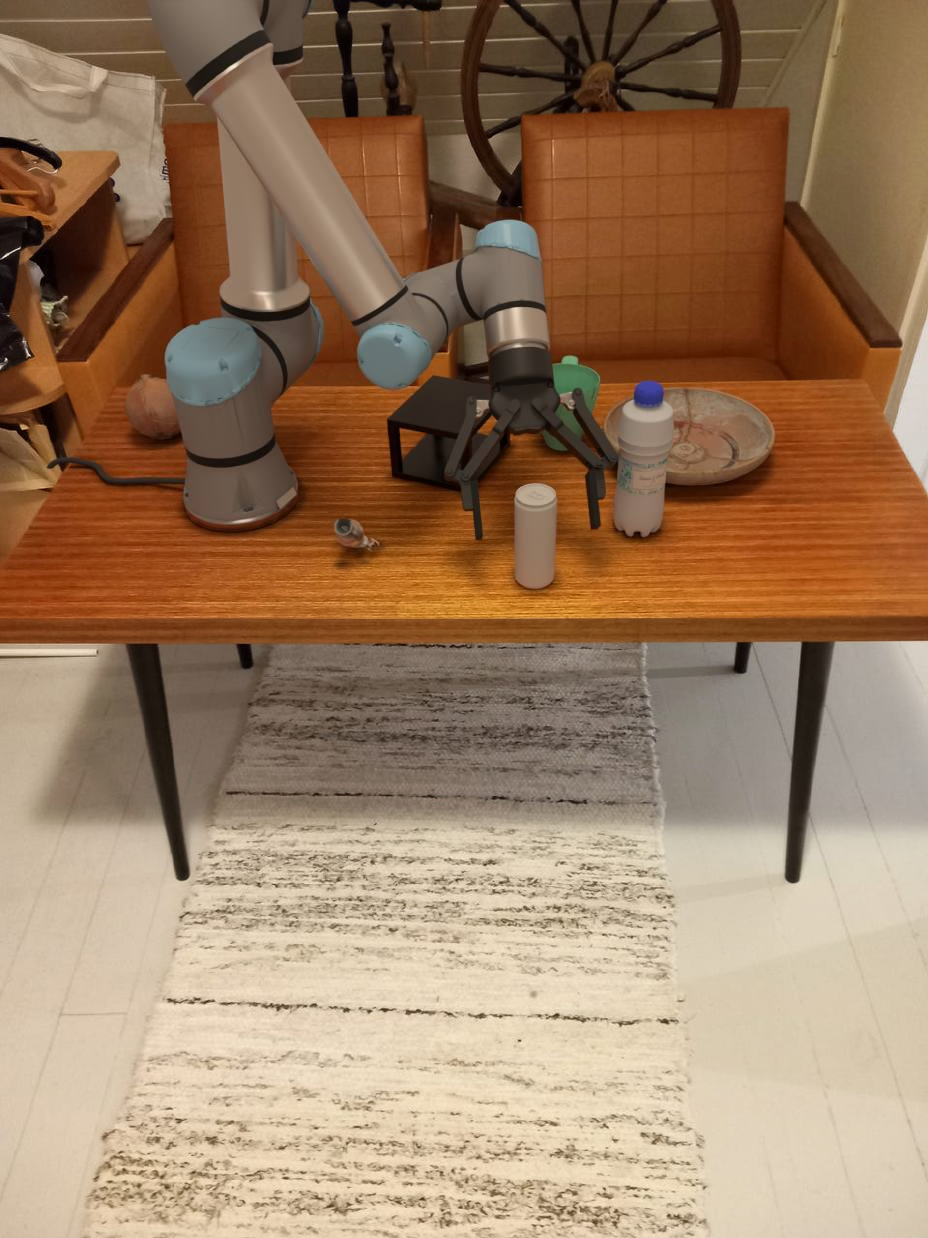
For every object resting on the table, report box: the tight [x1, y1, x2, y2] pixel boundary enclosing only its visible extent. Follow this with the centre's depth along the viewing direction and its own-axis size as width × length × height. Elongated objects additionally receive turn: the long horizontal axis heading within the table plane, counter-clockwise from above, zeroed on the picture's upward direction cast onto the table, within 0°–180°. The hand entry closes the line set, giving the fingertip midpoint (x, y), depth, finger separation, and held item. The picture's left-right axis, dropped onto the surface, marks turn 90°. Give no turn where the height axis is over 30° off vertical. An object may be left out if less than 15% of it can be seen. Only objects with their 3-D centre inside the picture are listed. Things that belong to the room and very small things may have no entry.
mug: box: [541, 355, 601, 452], centre depth 142 cm, size 15×10×10 cm
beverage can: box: [513, 482, 558, 590], centre depth 115 cm, size 5×5×12 cm
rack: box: [386, 374, 511, 493], centre depth 137 cm, size 12×14×9 cm
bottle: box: [612, 380, 674, 538], centre depth 120 cm, size 7×7×20 cm
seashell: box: [324, 517, 380, 551], centre depth 122 cm, size 5×5×6 cm
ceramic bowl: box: [602, 386, 776, 486], centre depth 137 cm, size 23×24×5 cm
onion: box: [124, 373, 181, 441], centre depth 146 cm, size 10×9×10 cm
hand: (537, 533), depth 114 cm, fingers open, 13 cm apart
